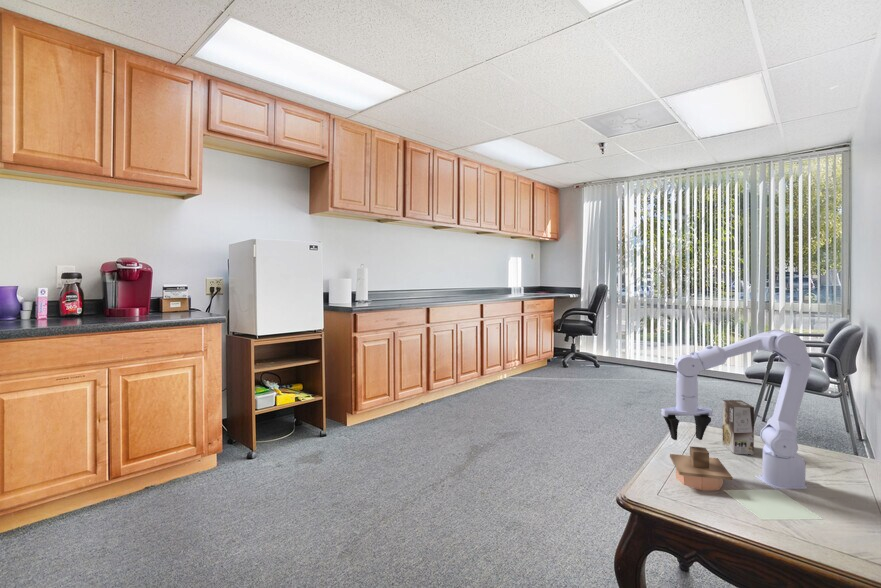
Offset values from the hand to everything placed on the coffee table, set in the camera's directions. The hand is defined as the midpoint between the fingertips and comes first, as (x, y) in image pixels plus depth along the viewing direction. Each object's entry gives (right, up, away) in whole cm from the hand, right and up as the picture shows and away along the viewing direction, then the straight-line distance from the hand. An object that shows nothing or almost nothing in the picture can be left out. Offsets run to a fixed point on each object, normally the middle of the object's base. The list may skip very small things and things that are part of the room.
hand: (686, 438), depth 134 cm
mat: (+11, -11, -19) cm, 25 cm away
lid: (0, -6, -6) cm, 9 cm away
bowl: (0, -11, -6) cm, 12 cm away
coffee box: (+27, -10, +17) cm, 34 cm away
